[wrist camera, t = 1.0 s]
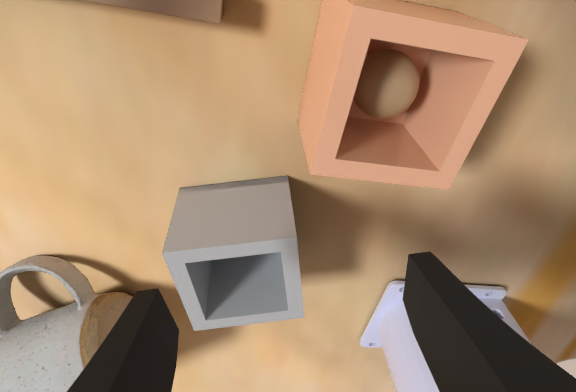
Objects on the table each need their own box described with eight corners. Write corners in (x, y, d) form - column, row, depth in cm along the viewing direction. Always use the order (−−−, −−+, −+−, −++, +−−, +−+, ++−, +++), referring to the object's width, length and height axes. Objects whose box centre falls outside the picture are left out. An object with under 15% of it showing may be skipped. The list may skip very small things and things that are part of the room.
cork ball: (415, 47, 16) (442, 66, 14) (393, 107, 18) (414, 133, 15) (354, 36, 15) (372, 54, 13) (338, 98, 17) (351, 124, 15)
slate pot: (287, 175, 20) (296, 236, 16) (295, 251, 24) (304, 317, 20) (179, 188, 20) (162, 253, 16) (203, 262, 24) (194, 331, 20)
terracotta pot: (457, 11, 16) (528, 39, 12) (407, 135, 19) (448, 189, 15) (325, -16, 15) (353, 5, 11) (297, 120, 18) (310, 174, 14)
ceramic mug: (178, 322, 27) (156, 437, 21) (91, 355, 29) (45, 471, 22) (74, 227, 21) (-1, 347, 15) (-30, 274, 23) (-137, 401, 17)
